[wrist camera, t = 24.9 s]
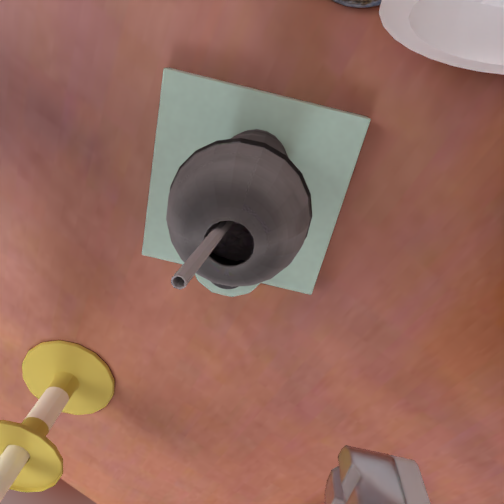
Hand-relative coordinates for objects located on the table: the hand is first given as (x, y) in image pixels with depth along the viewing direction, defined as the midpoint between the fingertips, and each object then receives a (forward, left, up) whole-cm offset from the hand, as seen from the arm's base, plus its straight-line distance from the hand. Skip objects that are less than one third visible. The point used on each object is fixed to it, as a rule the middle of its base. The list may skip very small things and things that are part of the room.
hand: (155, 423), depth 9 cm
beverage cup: (0, 0, -25) cm, 25 cm away
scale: (0, -3, -26) cm, 26 cm away
